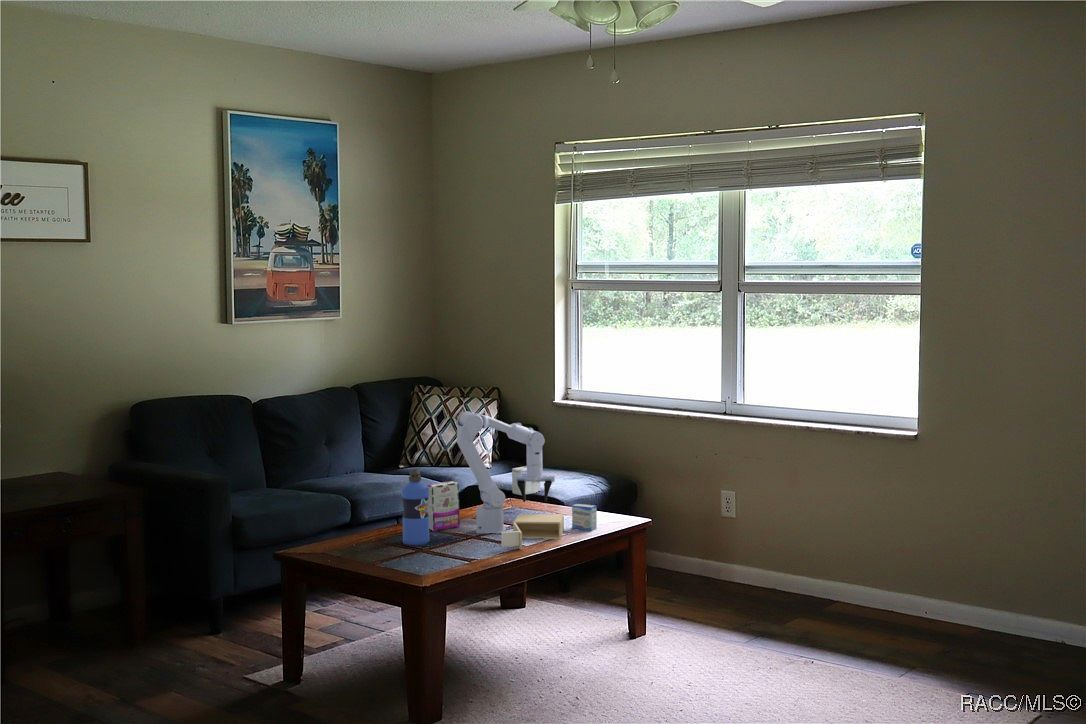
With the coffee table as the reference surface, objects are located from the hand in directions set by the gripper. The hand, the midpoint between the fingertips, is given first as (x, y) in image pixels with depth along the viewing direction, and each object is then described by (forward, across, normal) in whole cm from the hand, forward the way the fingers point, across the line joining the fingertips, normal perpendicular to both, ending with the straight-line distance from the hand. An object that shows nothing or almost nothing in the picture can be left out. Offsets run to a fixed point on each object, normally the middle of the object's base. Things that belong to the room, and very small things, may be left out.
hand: (535, 501), depth 385 cm
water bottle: (+10, -38, -25) cm, 46 cm away
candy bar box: (+10, -33, -4) cm, 35 cm away
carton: (+9, +3, -12) cm, 15 cm away
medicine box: (+10, +18, -2) cm, 20 cm away
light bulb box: (+10, -12, +64) cm, 66 cm away
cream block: (+9, -5, -27) cm, 29 cm away
